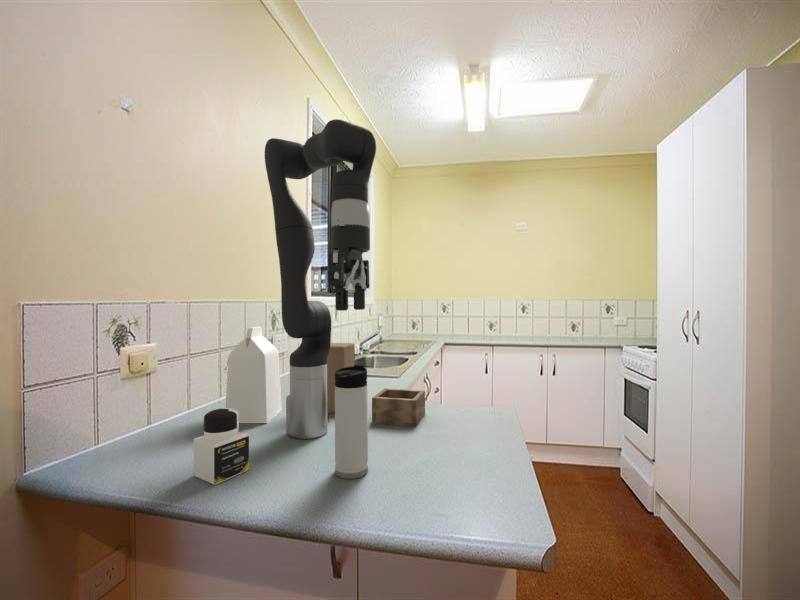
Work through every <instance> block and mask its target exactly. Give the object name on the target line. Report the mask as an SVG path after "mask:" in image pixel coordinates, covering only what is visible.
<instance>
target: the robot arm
mask: <svg viewBox="0 0 800 600" xmlns="http://www.w3.org/2000/svg"><path fill="white" fill-rule="evenodd" d="M377 147H378V144H377V139H376V136H375V135H374V133H373V132H372V131H371V130H370V129H369V128H366V127H363V126H361V125H357V124H355V123H351V122H349V121H346V120H343V119H339V118H338V119H331V120H329V121H327V123H326V124H325V126H324V128H323V129H322V130H321V132H319V133H316V134H314V135H312V136H311V137H309V138H308V139H307V140H306V141H305V143H304V144H302V143H299V142H296V141H291V140H287V139H282V138H275V137H271V138H269V139H268V140H267V141H266V144H265V146H264V164H265V169H266V176H267V181H268V184H269V185H268V186H269V191H270V194H271V195H270V196H271V200H272V201H271V202H272V209H273V218H274V219H273V220H274V231H275V239H276V247H277V254H278V260H279V261H278V262H279V274H280V285H281V289H280V290H281V292H280V294H281V300H280V301H281V319H282V320H281V321H282V326H283V328H284V330H285V333H286V334H287V335H288V336H289V337H290V338H292V339H301V343H300V344H299V346H298V347H297V348H296V349H295V350H294V351H292V352H291V353H290V355H289V394H288V395H286V397H285V400H286V401H285V404H286V405H285V408H286V409H285V414H286V415H285V417H286V419H285V421H286V424H285V425H286V426H285V427H286V431H285V432H286V434H285V435H286V436H290V437H292V438H295V439H301V440H302V439H303V440H305V439H309V440H310V439H315V438H319V437H321V436H324V435H326V434H327V433H328V426H329V425H328V413H327V357H328V354H329V352H330V345H331V343H332V342H331V341H332V315H331V311H330V309H329V307H328V306H327V304H325V303H324V302H323V301H320V300H308V295H307V286H306V285H307V274H308V270H309V269H310V266H311V264H312V261H313V258H314V254H315V251H316V250H315V246H316V245H315V238H314V229H313V225H312V222H311V220H310V218H309V216H308V214H307V213H306V212H305V211H304V209H303V208H302V207H301V205H300V204H299V202H298V201H297V200H296V198H295V197H294V195H293V194H292V192H291V190H290V188H289V185H288V182H287V179H290V180H303V179H305V178H308V177H310V176H311V175H312V174H314V173H315V172H317V171H319V170H320V169H325V168H331V167H334V166H335V167H336V166H338V165H340V164H342V163H343V162H346V163H350V164H352V169H344V170H343V169H342V170H339V171H336V172H335V173H334V174H333V176H332V178H331V179H332V180H331V211H330V249H331V251H332V252H329V255H328V285H329V286H331V287H332V289H333V290H335V311H342V312H343V311H348V309H349V290H348V289H349V286H350V284H351V285H352V289H353V310H355V311H356V310H357V311H358V310H361V311H363V310H365V308H366V292H367V289H370V262H369V260H368V259H364V260H363V254H364V253H367V252H369V251H370V250H371V233H370V232H371V230H370V229H371V225H370V221H371V219H370V216H371V215H370V208H369V181H370V178H371V173H372V169H373V165H374V161H375V158H376V154H377Z"/></svg>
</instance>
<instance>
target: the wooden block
mask: <svg viewBox="0 0 800 600" xmlns="http://www.w3.org/2000/svg"><path fill="white" fill-rule="evenodd" d="M355 348H356V347H355V343H353V342H331V345H330V352H329V354H328V357H327V414H332V413H333V414H334V415H335V382H336V381H335V372H336V371H337V370H339V369H341V368H345V367H353V366H354V365H356V361H355V359H356V357H355V356H356V354H355V352H356V350H355Z"/></svg>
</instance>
